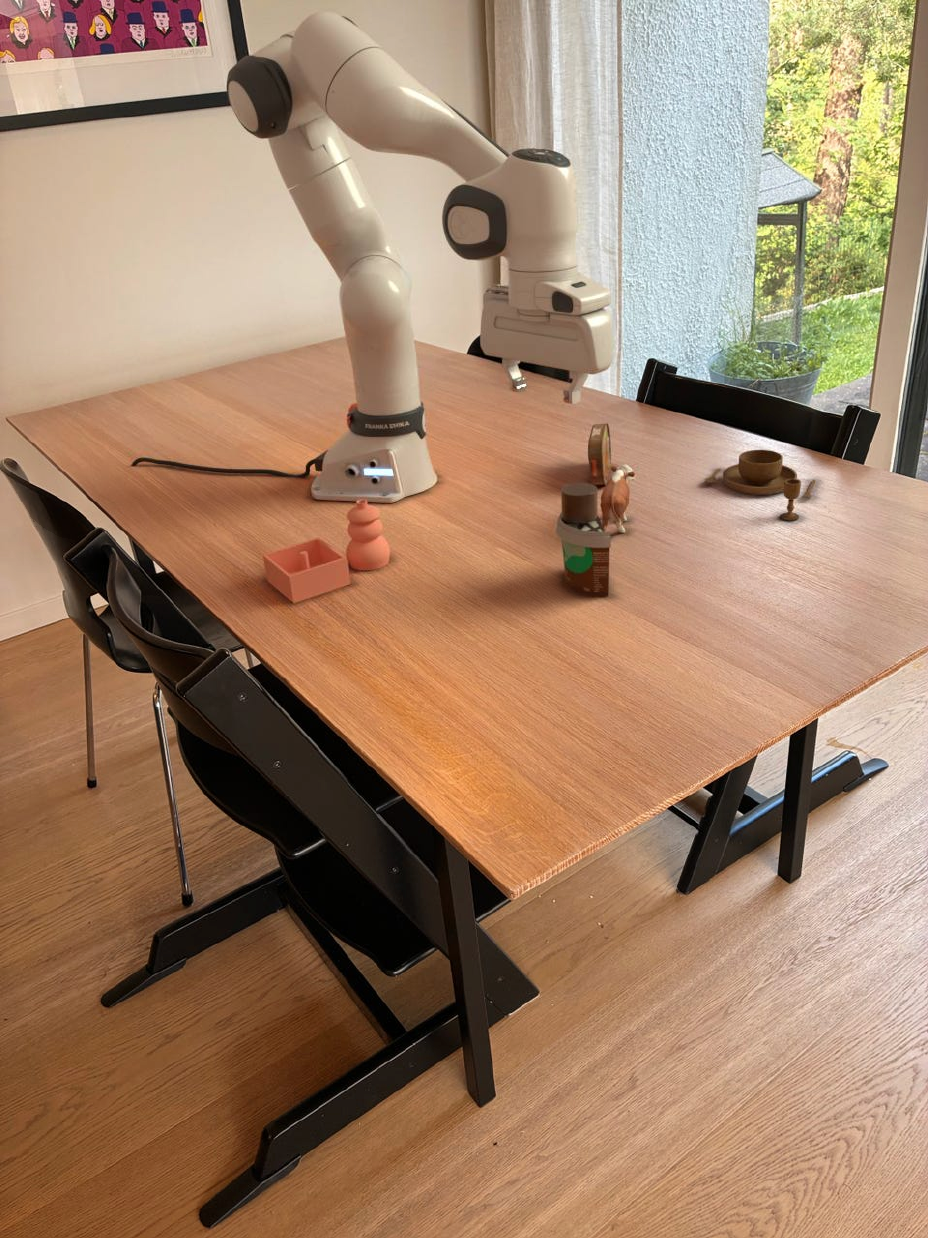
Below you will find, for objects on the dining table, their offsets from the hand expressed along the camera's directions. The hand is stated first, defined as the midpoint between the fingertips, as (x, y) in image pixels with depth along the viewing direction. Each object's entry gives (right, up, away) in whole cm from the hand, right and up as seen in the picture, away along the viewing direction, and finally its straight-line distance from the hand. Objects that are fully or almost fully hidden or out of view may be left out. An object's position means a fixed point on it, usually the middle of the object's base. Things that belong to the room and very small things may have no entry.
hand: (544, 396), depth 133 cm
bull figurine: (+13, -15, +23) cm, 31 cm away
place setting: (+37, -9, +30) cm, 49 cm away
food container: (+5, -25, +6) cm, 26 cm away
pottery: (-30, -23, +15) cm, 41 cm away
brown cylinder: (+5, -16, +2) cm, 17 cm away
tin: (+13, -5, +42) cm, 44 cm away
